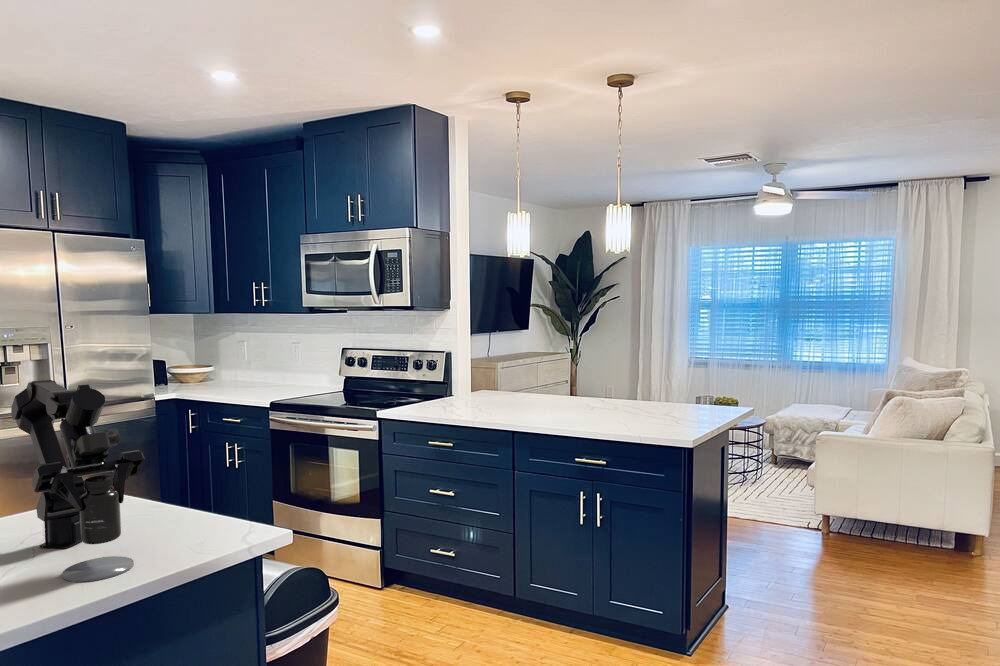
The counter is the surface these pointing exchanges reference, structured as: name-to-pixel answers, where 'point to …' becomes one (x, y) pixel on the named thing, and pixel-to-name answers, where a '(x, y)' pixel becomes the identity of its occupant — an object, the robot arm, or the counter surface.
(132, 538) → the counter surface
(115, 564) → the slate coaster
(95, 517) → the supplement bottle
